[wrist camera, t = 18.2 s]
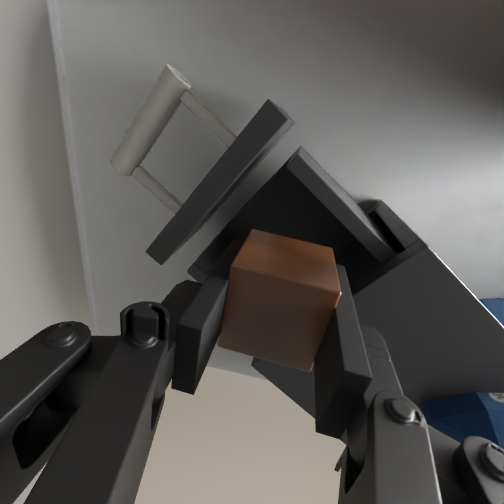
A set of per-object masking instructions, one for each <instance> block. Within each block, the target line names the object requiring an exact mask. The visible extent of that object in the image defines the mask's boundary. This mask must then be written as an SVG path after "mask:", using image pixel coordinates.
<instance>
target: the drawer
mask: <svg viewBox="0 0 504 504" xmlns="http://www.w3.org/2000/svg"><path fill="white" fill-rule="evenodd" d="M190 88H191V84H190V83H189V81H188V80H187V79H186V78H185V77H184V76H183V75H182V74H181V73H180V72H179V71H177V70H176V69H175V68H174V67H172V66H170V65H168V64H167V65H166V66H165V67H164V69H163V71H162V72H161V74H160V76H159V78H158V79H157V81H156V83H155V84H154V86H153V88H152V89H151V91H150V93H149V95H148V96H147V98H146V100H145V101H144V103H143V105H142V106H141V108H140V110H139V112H138V113H137V115H136V117H135V118H134V120H133V122H132V123H131V125H130V127H129V129H128V130H127V132H126V134H125V135H124V137H123V139H122V140H121V142H120V144H119V146H118V147H117V149H116V151H115V152H114V154H113V156H112V157H111V159H110V163H111V165H112V167H113V168H114V169H115V170H117V171H118V172H120V173H121V174H124V175H127V176H133V177H134V178H135V179H137V180H138V181H139V182H140V183H141V184H142V185H143V186H144V187H145V188H147V189H148V190H149V191H150V192H151V193H152V194H153V195H154V196H155V197H157V198H158V199H159V200H160V201H161V202H162V203H163V204H164V205H165V206H167V207H168V208H169V209H170V210H171V211H172V212H173V213H174V214H175V215H174V217H173V218H172V219H171V220H170V222H169V223H168V224H167V225H166V227H165V228H164V229H163V230H162V232H161V233H160V234H159V235H158V236H157V238H156V239H155V240H154V241H153V243H152V244H151V245H150V246H149V248H148V249H147V250H146V253H147V254H148V255H149V256H151V257H152V258H153V259H154V260H155V261H156V262H158V263H159V264H160V265H162V264H163V263H164V262H165V261H166V260H168V259H169V258H170V257H171V256H172V255H173V254H174V253H175V252H176V251H177V250H178V249H179V248H180V247H181V246H182V245H184V244H185V243H186V242H187V241H188V240H189V239H190V238H191V237H192V236H193V235H194V234H195V233H196V232H197V231H199V230H200V229H201V228H202V227H203V225H204V224H205V223H206V222H207V221H208V220H209V219H210V218H211V216H212V215H213V214H214V213H215V212H216V211H217V210H218V209H219V207H220V206H221V205H222V204H223V203H224V202H225V201H226V200H227V198H228V197H229V196H230V195H231V194H232V193H233V192H234V191H235V189H236V188H237V187H238V186H239V185H240V184H241V183H242V182H243V180H244V179H245V178H246V177H247V176H248V175H249V174H250V173H251V171H252V170H253V169H254V168H255V167H256V166H257V165H258V164H259V162H260V161H261V160H262V159H263V158H264V157H265V156H266V155H267V153H268V152H269V151H270V150H271V149H272V148H273V147H274V146H275V144H276V143H277V142H278V141H279V140H280V139H281V138H282V137H283V135H284V134H285V133H286V132H287V131H288V130H289V129H290V128H291V126H292V125H293V124H294V123H295V122H294V120H293V119H292V118H291V117H290V116H289V115H288V114H287V113H286V112H285V111H284V110H283V109H282V108H280V107H279V106H278V105H276V104H275V103H274V102H272V101H271V100H269V99H268V100H267V101H266V102H265V103H264V105H263V106H262V107H261V108H260V110H259V111H258V112H257V113H256V115H255V116H254V117H253V118H252V120H251V121H250V122H249V123H248V125H247V126H246V127H245V128H244V130H243V131H242V132H241V133H240V135H239V136H238V137H237V136H236V135H235V134H234V133H233V132H232V131H231V130H230V129H229V128H228V127H227V126H226V125H225V124H224V123H222V122H221V121H220V120H219V119H218V118H217V117H216V116H215V115H214V114H213V113H212V112H211V111H210V110H209V109H208V108H207V107H206V106H205V105H204V104H203V103H202V102H201V101H200V100H199V99H198V98H197V97H196V96H195V95H194V94H193V93H192V92H191V91H189V89H190ZM181 102H183V103H184V104H185V105H186V106H187V107H188V108H189V109H190V110H191V111H192V112H193V113H194V114H195V115H196V116H197V117H198V118H199V119H200V120H201V121H202V122H203V123H204V124H205V125H206V126H207V127H208V128H209V129H210V130H211V131H212V132H213V133H214V134H215V135H216V136H217V137H218V138H219V139H220V140H221V141H222V142H223V143H224V144H225V145H226V146H227V147H228V149H227V151H226V152H225V153H224V154H223V156H222V157H221V158H220V159H219V161H218V162H217V163H216V164H215V166H214V167H213V168H212V169H211V171H210V172H209V173H208V174H207V176H206V177H205V178H204V179H203V181H202V182H201V183H200V184H199V186H198V187H197V188H196V189H195V190H194V192H193V193H192V194H191V195H190V197H189V198H188V199H187V200H186V202H185V203H184V204H182V203H181V202H180V201H179V200H178V199H177V198H176V197H175V196H174V195H173V194H171V193H170V192H169V191H168V190H167V189H166V188H165V187H164V186H163V185H162V184H160V183H159V182H158V181H157V180H156V179H155V178H154V177H153V176H152V175H151V174H149V173H148V172H147V171H146V170H145V169H144V168H143V167H142V166H140V164H141V163H142V161H143V160H144V158H145V157H146V155H147V154H148V152H149V151H150V149H151V148H152V146H153V144H154V143H155V141H156V140H157V138H158V137H159V135H160V134H161V132H162V131H163V129H164V128H165V126H166V125H167V123H168V122H169V120H170V119H171V117H172V115H173V114H174V112H175V111H176V109H177V108H178V106H179V105H180V103H181ZM251 229H255V230H259V231H264V232H268V233H272V234H276V235H280V236H284V237H289V238H293V239H297V240H301V241H305V242H309V243H314V244H318V245H322V246H326V247H330V248H332V249H333V253H334V259H335V264H338V265H342V266H345V270H346V274H347V278H348V282H349V286H350V288H351V287H353V286H354V285H356V284H357V283H359V282H360V281H361V280H363V279H364V278H366V277H367V276H369V275H370V274H371V273H373V272H374V271H376V270H377V269H379V268H380V267H381V266H383V265H384V264H386V263H387V262H389V261H390V260H391V259H393V258H394V257H396V256H397V255H399V254H398V252H397V251H396V249H395V248H394V247H393V245H392V244H391V242H390V241H389V240H388V238H387V237H386V235H385V234H384V233H383V231H382V230H381V228H380V227H379V226H378V225H377V224H376V223H375V222H374V221H373V220H372V219H371V218H370V217H369V216H368V215H367V214H366V213H365V212H364V211H363V210H362V209H361V208H360V207H359V205H358V204H357V203H356V202H355V201H354V200H353V199H352V198H351V197H350V196H349V195H348V194H347V193H346V192H345V191H344V190H343V189H342V188H341V187H340V186H339V185H338V184H337V183H336V181H335V180H334V179H333V178H332V177H331V176H330V175H329V174H328V173H327V172H326V171H325V170H324V169H323V168H322V167H321V166H320V165H319V164H318V163H317V162H316V161H315V160H314V159H313V158H312V156H311V155H310V154H309V153H308V152H307V151H306V150H305V149H304V148H303V147H302V146H300V147H299V149H298V150H297V151H296V152H295V153H294V154H293V155H292V156H291V157H290V158H289V159H288V160H287V161H286V162H285V163H284V165H283V166H282V167H281V168H280V169H279V170H278V171H277V172H276V173H275V174H274V175H273V176H272V177H271V178H270V179H269V180H268V182H267V183H266V184H265V185H264V186H263V187H262V188H261V189H260V190H259V191H258V192H257V193H256V194H255V195H254V196H253V197H252V199H251V200H250V201H249V202H248V203H247V204H246V205H245V206H244V207H243V208H242V209H241V210H240V211H239V212H238V213H237V214H236V216H235V217H234V218H233V219H232V220H231V221H230V222H229V223H228V224H227V225H226V226H225V227H224V228H223V229H222V230H221V232H220V233H219V234H218V235H217V236H216V237H215V238H214V239H213V241H212V242H211V243H210V244H209V245H208V247H207V248H206V249H205V250H204V251H203V252H202V254H201V255H200V256H199V257H198V258H197V259H196V261H195V262H194V263H193V264H192V265H191V267H190V268H189V269H188V270H187V273H189V274H190V275H191V276H192V277H193V278H194V279H196V280H197V281H198V282H199V283H202V284H203V283H204V282H205V280H206V279H207V277H208V276H209V274H210V273H211V271H212V270H213V268H214V267H215V265H216V264H217V263H218V261H219V260H220V258H221V257H222V255H223V254H224V252H225V251H226V249H227V248H228V246H229V245H230V243H231V242H232V240H233V239H236V240H240V241H245V239H246V238H247V236H248V234H249V232H250V230H251Z"/></svg>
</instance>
